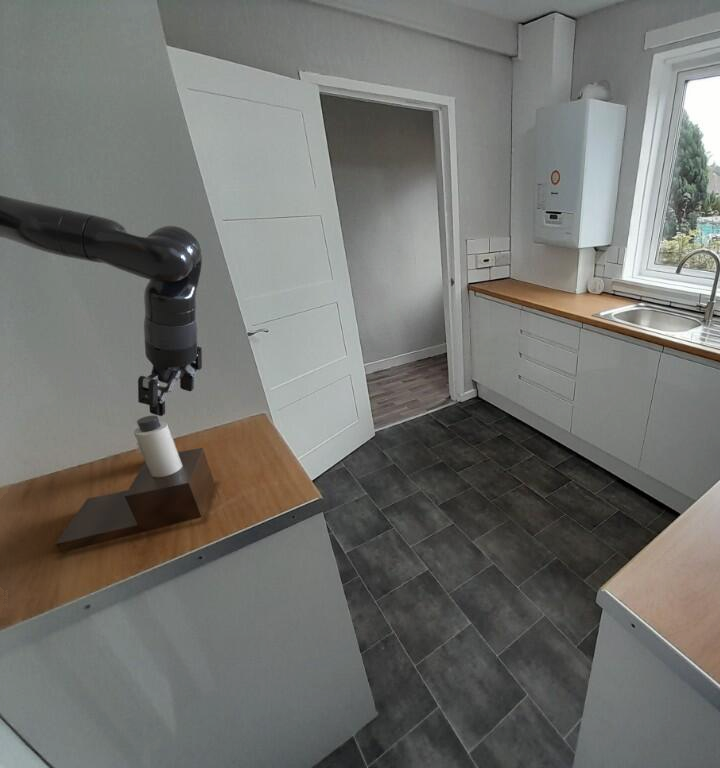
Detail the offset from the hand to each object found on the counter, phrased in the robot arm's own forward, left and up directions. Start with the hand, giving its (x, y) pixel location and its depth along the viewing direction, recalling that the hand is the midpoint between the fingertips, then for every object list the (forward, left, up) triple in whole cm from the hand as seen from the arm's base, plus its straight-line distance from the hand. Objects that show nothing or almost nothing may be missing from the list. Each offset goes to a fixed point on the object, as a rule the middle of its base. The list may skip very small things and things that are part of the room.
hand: (172, 401), depth 83 cm
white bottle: (-4, -3, -14) cm, 15 cm away
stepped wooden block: (-10, -3, -24) cm, 26 cm away
